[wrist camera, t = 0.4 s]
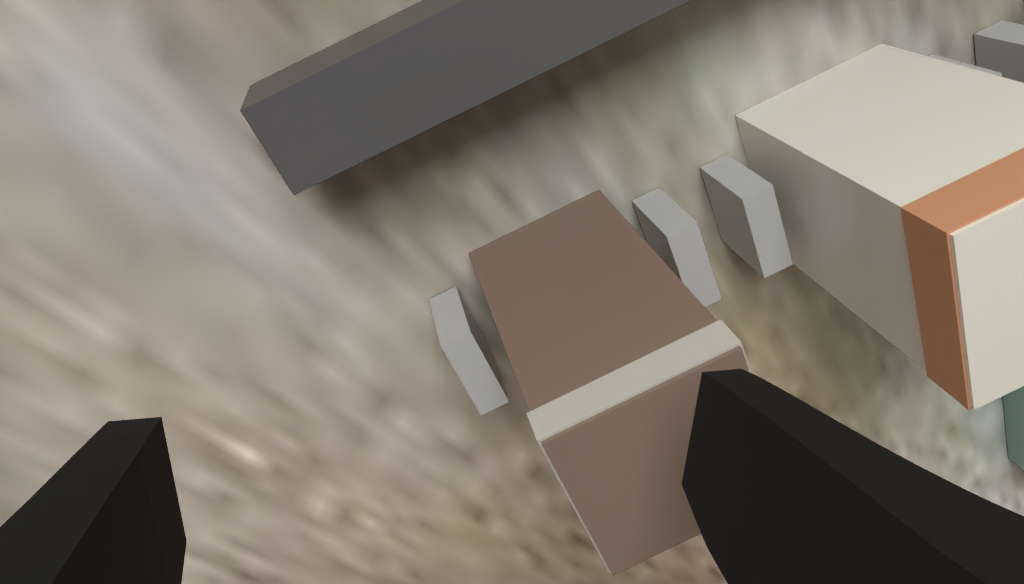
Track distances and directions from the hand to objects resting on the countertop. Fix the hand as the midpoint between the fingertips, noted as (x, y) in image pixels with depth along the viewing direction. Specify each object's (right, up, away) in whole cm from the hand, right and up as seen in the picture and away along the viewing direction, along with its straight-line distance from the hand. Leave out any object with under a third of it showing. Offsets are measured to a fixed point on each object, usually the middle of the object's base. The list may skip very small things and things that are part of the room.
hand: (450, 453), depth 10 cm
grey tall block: (+9, +6, +11) cm, 15 cm away
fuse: (+2, +3, +11) cm, 11 cm away
